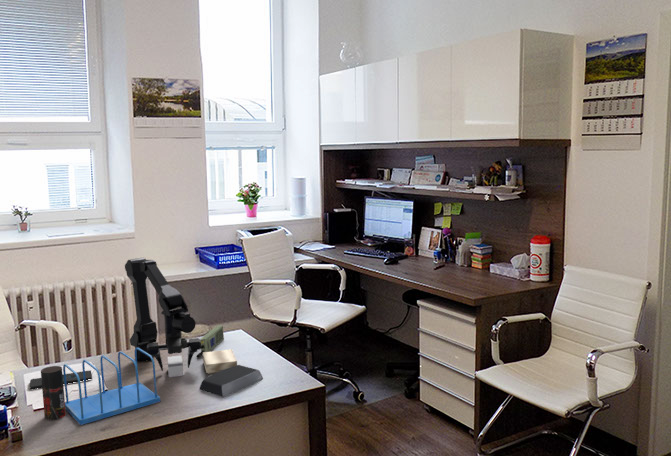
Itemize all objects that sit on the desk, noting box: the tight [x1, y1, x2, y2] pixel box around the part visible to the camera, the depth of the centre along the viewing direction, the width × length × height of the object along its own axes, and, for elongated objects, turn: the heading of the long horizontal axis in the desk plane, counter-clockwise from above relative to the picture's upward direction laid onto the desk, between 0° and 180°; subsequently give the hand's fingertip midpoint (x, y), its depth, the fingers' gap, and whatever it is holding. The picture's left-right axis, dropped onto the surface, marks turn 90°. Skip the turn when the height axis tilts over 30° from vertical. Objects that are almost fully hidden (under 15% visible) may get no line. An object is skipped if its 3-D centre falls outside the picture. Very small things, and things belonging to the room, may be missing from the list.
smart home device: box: [29, 370, 93, 390], centre depth 218 cm, size 8×2×20 cm
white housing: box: [167, 354, 184, 378], centre depth 224 cm, size 5×8×5 cm, turn 17°
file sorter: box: [62, 347, 161, 426], centre depth 196 cm, size 25×17×15 cm
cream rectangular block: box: [202, 348, 238, 376], centre depth 229 cm, size 11×14×4 cm
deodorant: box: [40, 365, 67, 421], centre depth 189 cm, size 6×6×15 cm
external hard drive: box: [198, 364, 264, 398], centre depth 212 cm, size 13×19×4 cm
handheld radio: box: [196, 324, 225, 358], centre depth 250 cm, size 7×3×25 cm
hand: (175, 369), depth 225 cm, fingers open, 9 cm apart
